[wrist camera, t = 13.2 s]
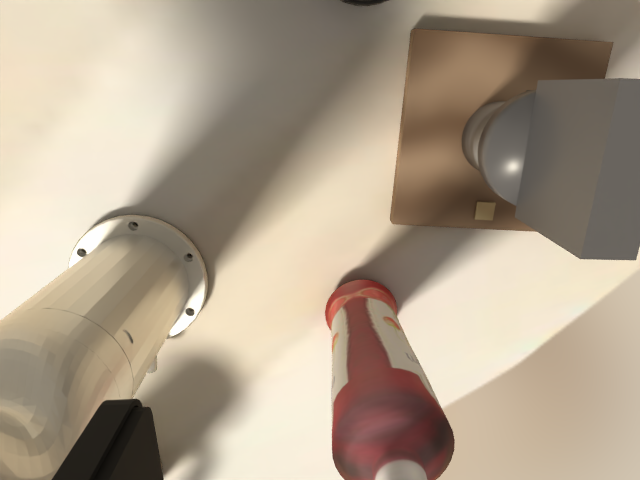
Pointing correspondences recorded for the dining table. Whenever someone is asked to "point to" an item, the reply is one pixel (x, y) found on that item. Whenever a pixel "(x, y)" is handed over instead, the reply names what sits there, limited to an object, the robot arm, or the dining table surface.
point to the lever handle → (570, 163)
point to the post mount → (470, 118)
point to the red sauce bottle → (381, 393)
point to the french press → (364, 2)
